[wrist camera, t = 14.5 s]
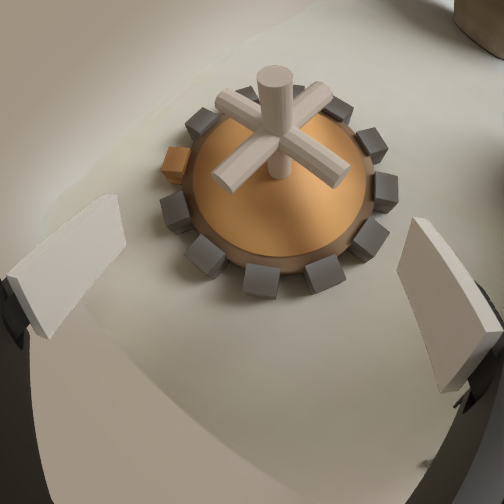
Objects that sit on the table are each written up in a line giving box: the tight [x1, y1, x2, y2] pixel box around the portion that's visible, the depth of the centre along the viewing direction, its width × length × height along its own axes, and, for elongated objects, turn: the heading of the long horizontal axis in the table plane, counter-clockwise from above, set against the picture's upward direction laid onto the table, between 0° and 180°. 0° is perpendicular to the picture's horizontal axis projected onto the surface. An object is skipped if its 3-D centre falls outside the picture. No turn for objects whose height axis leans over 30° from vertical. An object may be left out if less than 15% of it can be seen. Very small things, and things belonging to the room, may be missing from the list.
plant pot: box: [454, 0, 504, 59], centre depth 19 cm, size 25×25×22 cm
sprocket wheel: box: [160, 85, 398, 299], centre depth 23 cm, size 20×20×2 cm
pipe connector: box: [211, 65, 351, 194], centre depth 17 cm, size 10×10×10 cm
